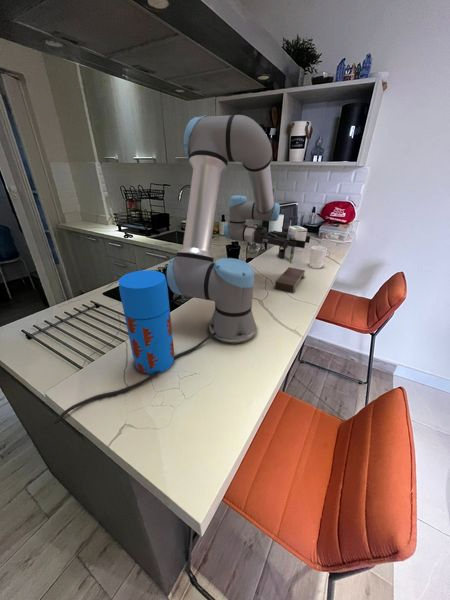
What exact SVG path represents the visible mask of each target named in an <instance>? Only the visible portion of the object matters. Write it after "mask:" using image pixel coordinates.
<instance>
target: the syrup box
mask: <svg viewBox="0 0 450 600" xmlns="http://www.w3.org/2000/svg"><path fill="white" fill-rule="evenodd" d="M289 226H290V225H289ZM307 233H308V228H305V227H303V226H301V225H291V226H290V227H289V229H288V236H287V239H288V241H289V239H293V240H300V241H305V239H306V236H307ZM304 250H305V248H299V247H292V246H288V248H286V250H285V257H284V259H283V260H285V261H287V262H288V263H289V264H298V263H302V262H303V256H304Z"/></svg>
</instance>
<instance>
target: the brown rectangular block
mask: <svg viewBox="0 0 450 600" xmlns="http://www.w3.org/2000/svg"><path fill="white" fill-rule="evenodd" d="M305 272H306V270H305V269H302V268H301V269H300V268H296V267H290V266H288V267H287V268H286V269H285V271H284V272H283V273H282V274H281V275H280V276H279V277H278V278H277V280H275V285H274V289H275V290H278V291H282V292H287V293H291V294H293V293H294V292H295V287H296V285H297V284H298V283H299V281H300V280H301V279H304V277H305V274H306V273H305Z"/></svg>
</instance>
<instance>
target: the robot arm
mask: <svg viewBox="0 0 450 600" xmlns="http://www.w3.org/2000/svg"><path fill="white" fill-rule="evenodd" d="M268 137H269V136H267V134H266V132H265V130H264V129H263V128H262V127H261V126H260V125H259V124H258V122H256V121H255V120H254V119H253V118H252V117H249V116H246V115H243V114H233V115H213V116H212V115H211V116H209V115H202V116H195V117H193V118H191V119H190V120H189V121H188V123H187V125H186V128H185V130H184V135H183V144H184V148H183V149H184V153H185V156H186V159H188V160H189V161H188V162H189V165H190V166H191V168H192V176H191V183H190V190H189V199H188V203H187V204H188V205H187V212H186V213H187V214H186V218H185V219H186V220H185V228H184V234H183V242H182V247H181V248H179V249H178V250H177V251H176V257H172V258H171V259H170V260H169V262H168V264H167V267H166V282H167V286H168V287H169V289H170V291H171V292H172V293H173V294H175V295H179V296H183V297H184V298H194V299H200V300H206V301H210V302H211V301H212V302H214V311H213V313H212V316H211V319H210V322H209V326H208V327H209V333H210V334H209V336H207V337H206V338H204V339H203V340H202V341H201V342H199V343H197V344H196V345H195V346H193V347H191V348H189V349H188V350H185V351H183V352H180V353H177V354H176V355H174V360H175V359H177V358H180V357H181V356H184V355H186V354H188V353H191V352H193V351H195V350H197V349H198V348H199V347H201V346H202V345H203V344H204V343H206V342H207V341H209V340H210V339H212V338H214V339H215V340H217V341H219V342H221V343H225V344H242V343H245V342H248V341H250V340H251V339H253V337H254V336H255V335H256V330H257V324H256V321H255V317H254V315H253V310H252V309H253V308H252V307H253V296H254V286H255V272H254V269H253V267H252V266H251V265H250V264H249V263H248V262H246V261H244V260H241V259H238V258H234V257H227V258H226V257H222V258H218V259H217V260H216V261H215V262H214V259H215V258H214V255H213V254H212V253H211V247H212V239H213V234H214V233H213V232H214V225H215V220H216V212H217V205H218V197H219V191H220V185H221V176H222V175H223V174H224V173H225V172H226V171H227V168H228V164H229V163H231V162H232V163H236V162H238V163H241V164H242V166H243V168H244V169H245V170H246V171H247V176H248V179H249V183H250V188H251V192H252V196H253V201H252V200H251V201H250V200H248V198H247V196H246V195H232V196H230V198H229V206H228V208H229V210H228V211H229V213H228V214H229V215H228V216H229V220H228V222H226V223H225V224H224V226H223V231H222V232H223V236H224V238H226V239H228V240H232V241H239V242H246V243H248V244H251V243H252V244H256V245H257V244H258V245H264V244H267V245H273V246H277V247H280V246H282V247H285V248H288V246H292V247H299V248H304V249H305V247H306V244H310V240H311V236H310V235H306V239H305V241H300V240H293V239H289V241H288V239H287V236H288V232H283V231H278V230H272V231H268V229H267V227H265V226H260V225H259V226H258V225H254V224H253V225H251V224H246V222H247V220H253V221H254V220H255V221H265V222H277V221H278V220H279V218H280V211H281V204H280V203H279V202H275V201H274V191H273V181H272V171H271V163H272V162H273V149H272V148H273V147H272V144H271V142H270V139H269V138H268ZM159 372H160V371H156V372H155V373H154V374H150V375H149V376H148V377H146V378H144V379H142V380H140V381H138V382H136V383H134V384H132V385H128V386H126V387H124V388H122V389H118V390H114V391H111V392H110V391H109V392H106V393H101V394H98V395H94V396H91V397H89V398H87V399H84V400H83V401H82V400H81V401H80V402H78V403H75V404H73V405H71V406H70V407H68V408H67V409H66V410H64V411H63V412H61V414H59V416H58V417H57V419H56V420H55V422H54V425H57V424H59V423H60V422H61V421H62V419H64V417H65V416H66V415H67V414H68V413H70V412H71V411H73V410H74V409H76V408H78V407H80V406H83V405H85V404H87V403H90V402H92V401H95V400H97V399H101V398H106V397H111V396H115V395H118V394H122V393H125V392H127V391H129V390H132V389H134V388H136V387H139V386H142V385H143V384H144V383H147V382H148V381H150V380H152V379H153V378H154V377H156V376H157V375H158V374H160V373H161V372H160V373H159ZM60 468H61V471H62V473H63V475H64V476H65V478H66V480H67V482H68V484H69V485H70V487H71V488H72V490H73V492H74V493H75V495H76V498H77V500H78V502H79V505H83V504H84V501H83V499H82V498H81V496H80V494H79V493H78V491H77V490H76V488H75V486H74V485H73V483H72V482H71V480H70V479H69V477H68V475H67V474H66V472H65V470H64V469H63V467H62V466H60Z"/></svg>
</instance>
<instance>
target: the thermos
mask: <svg viewBox="0 0 450 600" xmlns="http://www.w3.org/2000/svg"><path fill="white" fill-rule="evenodd" d="M118 289H119V295H120V300H121V305H122V310H123V315H124V319H125V324H126V329H127V334H128V339H129V344H130V349H131V353H132V358H133V361H134V365H135V368H136V369H137V370H138V372H141V374H145V375H152V374H154V373H155V372H156V371H160V372H159V373H158V374H160V373H163V372H165V371H167V370H168V369H169V368H171V367H172V365H173V364H174V361H175V359H174V356H175V348H174V347H175V346H174V337H173V328H172V327H173V326H172V319H171V309H170V298H169V289H168V282H167V277H166V275H165V273H163V272H161V271H157V270H149V269H145V270H143V269H142V270H136V271H132V272H128V273H126V274H124V275H122V276H121V277H119V279H118Z"/></svg>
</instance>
